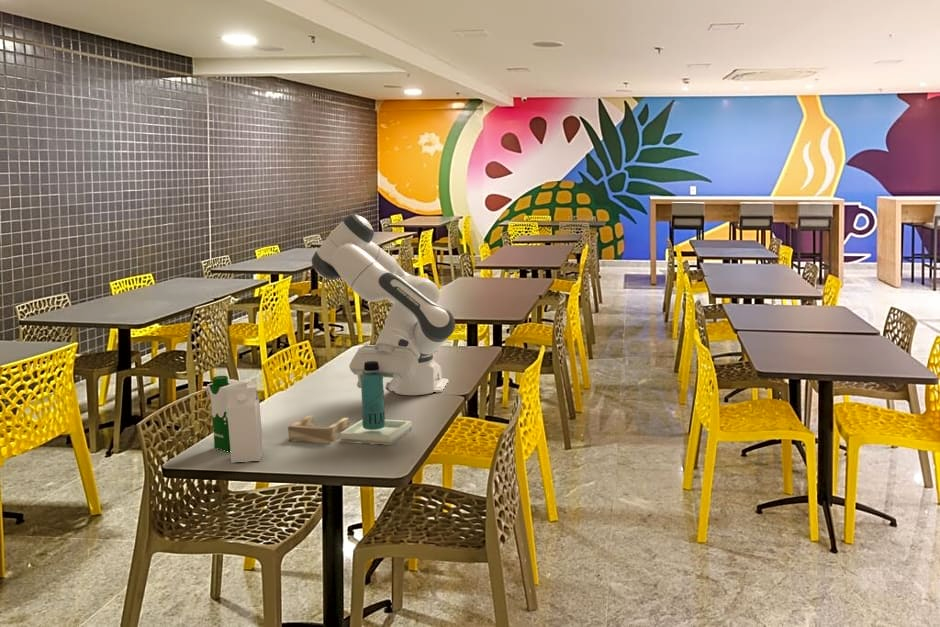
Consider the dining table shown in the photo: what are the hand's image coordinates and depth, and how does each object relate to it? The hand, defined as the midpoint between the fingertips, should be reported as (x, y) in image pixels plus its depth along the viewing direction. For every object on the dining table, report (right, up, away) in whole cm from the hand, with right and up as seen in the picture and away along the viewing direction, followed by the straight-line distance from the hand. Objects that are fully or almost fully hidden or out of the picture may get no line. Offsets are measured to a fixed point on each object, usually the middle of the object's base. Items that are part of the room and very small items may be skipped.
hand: (374, 388), depth 243 cm
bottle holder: (-16, -14, +5) cm, 21 cm away
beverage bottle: (0, -13, +2) cm, 13 cm away
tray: (+1, -13, +2) cm, 14 cm away
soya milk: (-38, -16, -3) cm, 42 cm away
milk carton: (-32, -17, -14) cm, 39 cm away
